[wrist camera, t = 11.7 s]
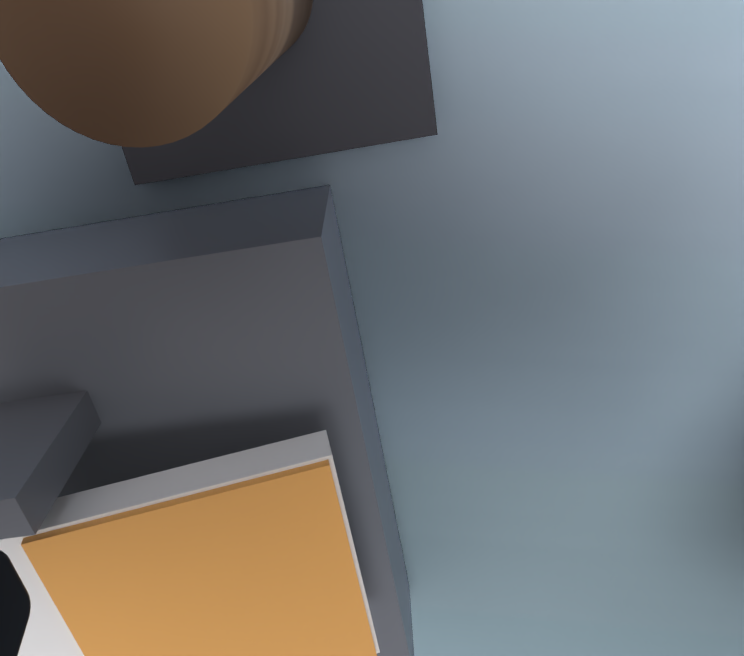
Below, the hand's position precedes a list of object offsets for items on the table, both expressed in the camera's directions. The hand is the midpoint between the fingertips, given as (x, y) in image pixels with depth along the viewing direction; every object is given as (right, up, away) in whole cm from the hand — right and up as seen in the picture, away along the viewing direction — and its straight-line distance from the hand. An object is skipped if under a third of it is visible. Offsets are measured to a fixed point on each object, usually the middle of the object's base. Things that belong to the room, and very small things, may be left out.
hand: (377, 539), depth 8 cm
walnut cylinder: (-3, +10, +8) cm, 13 cm away
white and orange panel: (-8, -5, +9) cm, 13 cm away
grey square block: (-8, -2, +15) cm, 17 cm away
